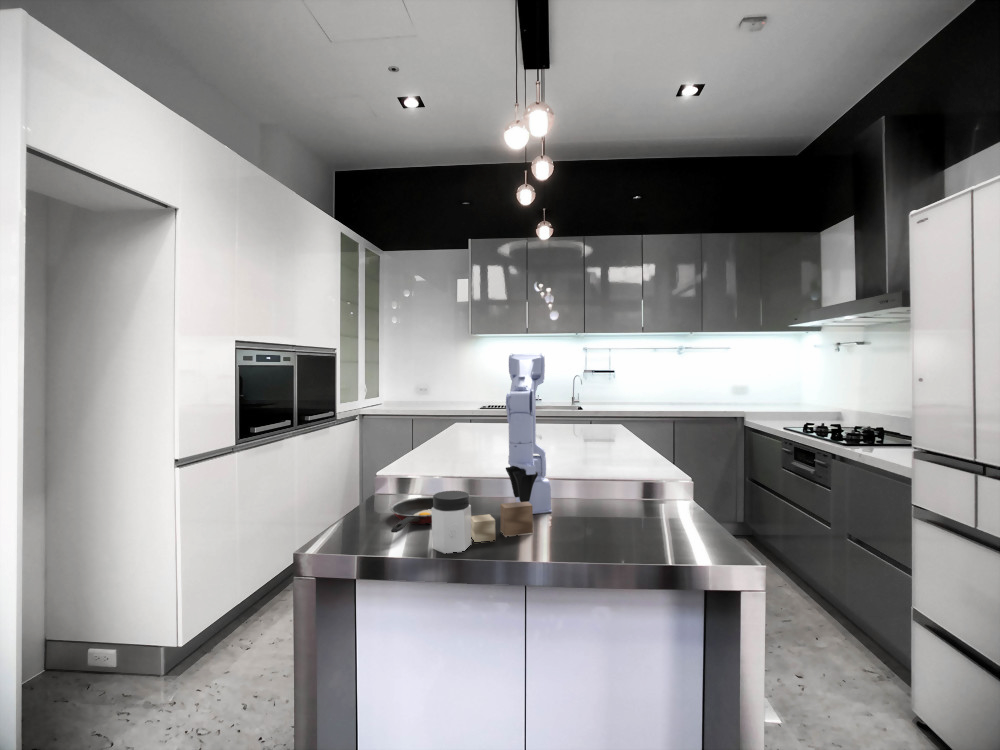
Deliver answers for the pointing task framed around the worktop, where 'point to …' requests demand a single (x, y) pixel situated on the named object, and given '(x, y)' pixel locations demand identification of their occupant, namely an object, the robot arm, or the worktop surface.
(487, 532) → the maple block
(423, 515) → the frying pan
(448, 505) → the jar
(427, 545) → the worktop surface
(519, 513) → the walnut block
